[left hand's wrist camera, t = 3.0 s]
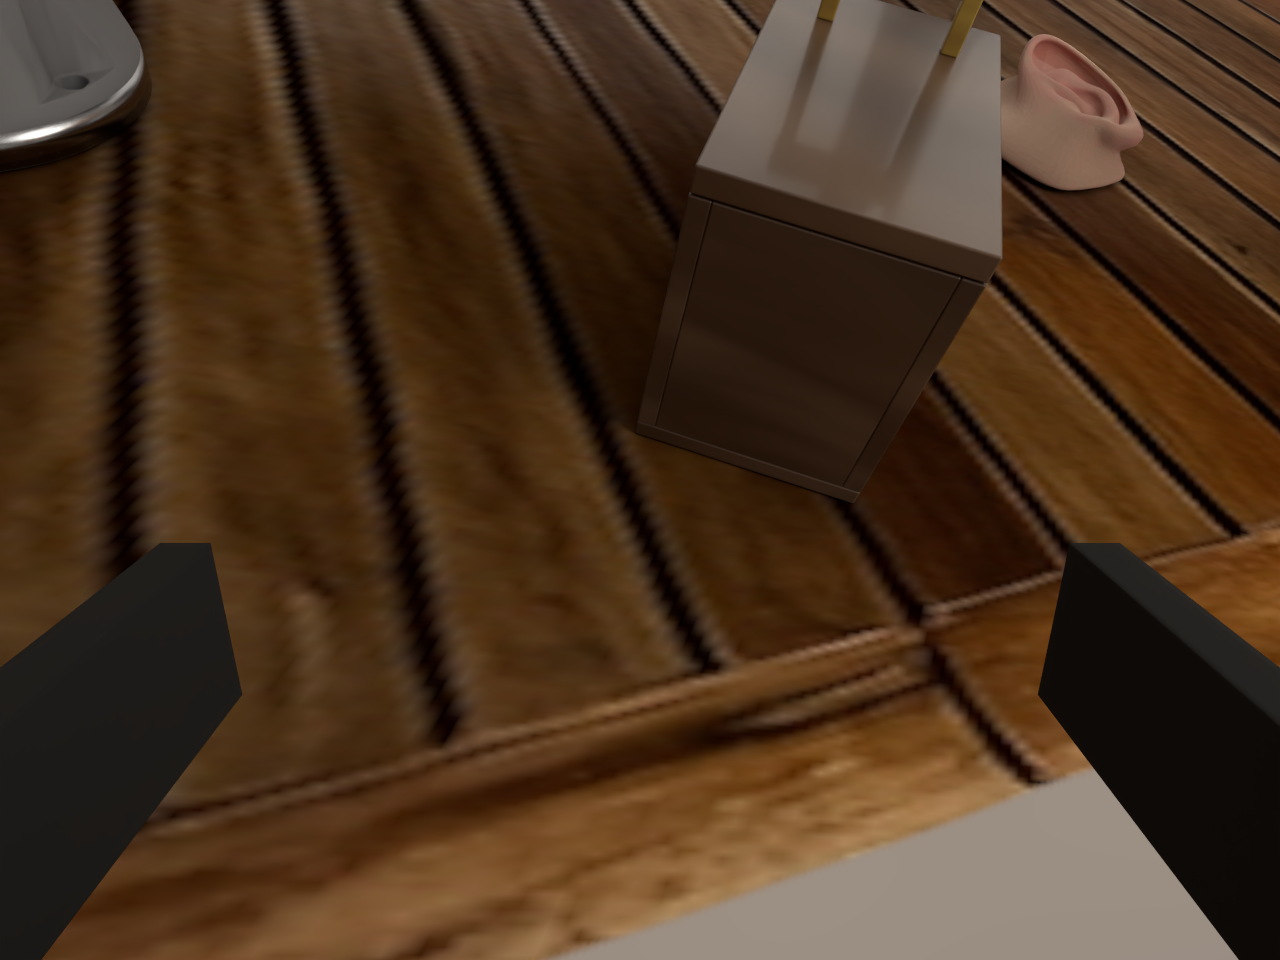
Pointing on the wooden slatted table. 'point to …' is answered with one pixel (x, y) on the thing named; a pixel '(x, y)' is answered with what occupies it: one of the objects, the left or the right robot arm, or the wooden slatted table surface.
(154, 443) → the wooden slatted table surface
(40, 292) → the wooden slatted table surface
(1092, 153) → the anatomical model
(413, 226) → the wooden slatted table surface
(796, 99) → the lid
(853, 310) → the chest
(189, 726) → the left robot arm
